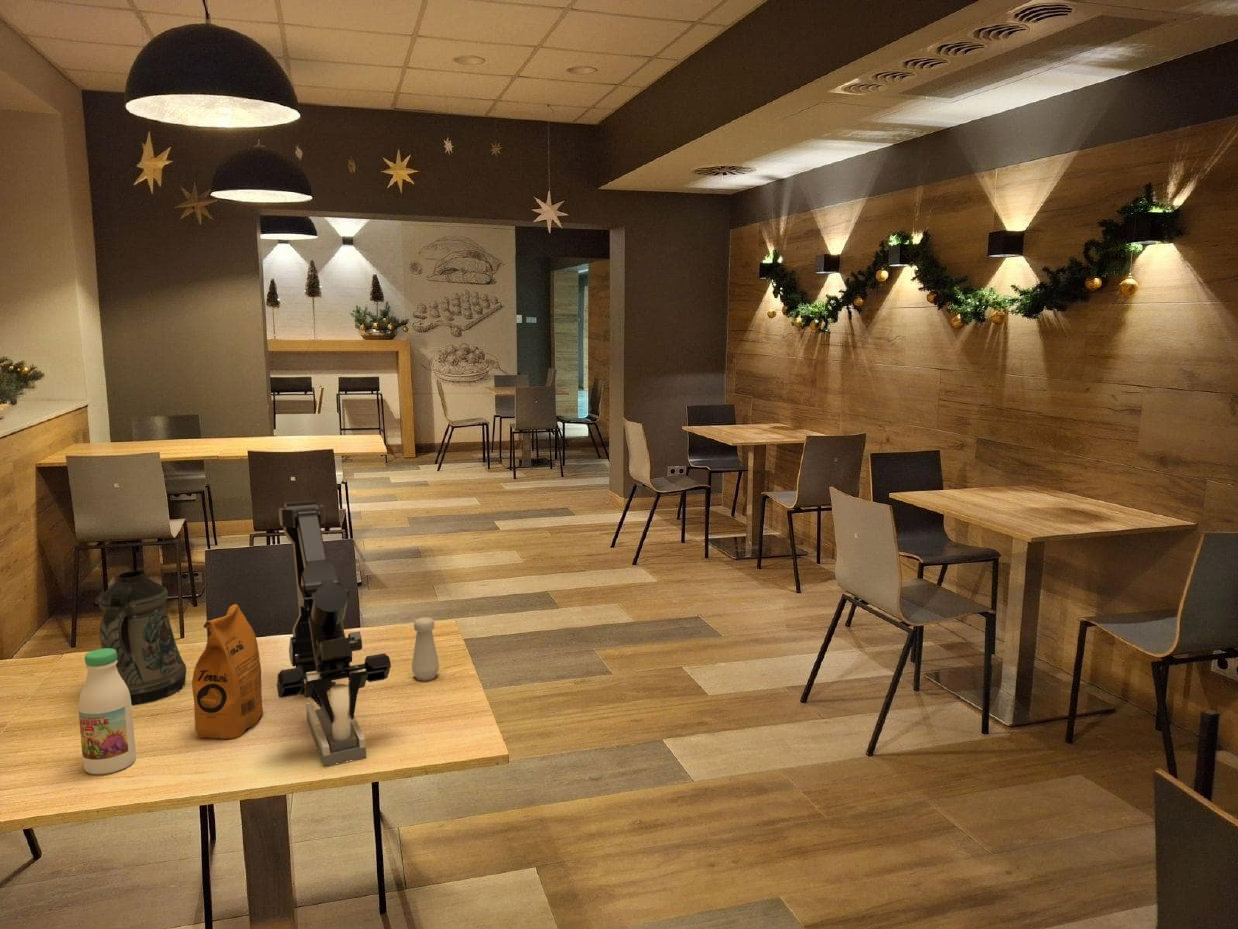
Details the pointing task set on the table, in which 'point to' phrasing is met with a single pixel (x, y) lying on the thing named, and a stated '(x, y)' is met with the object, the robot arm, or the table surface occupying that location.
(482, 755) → the table surface
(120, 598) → the beer stein
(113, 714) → the milk bottle
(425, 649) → the salt shaker
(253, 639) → the coffee package
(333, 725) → the fader slider
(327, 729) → the fader console
